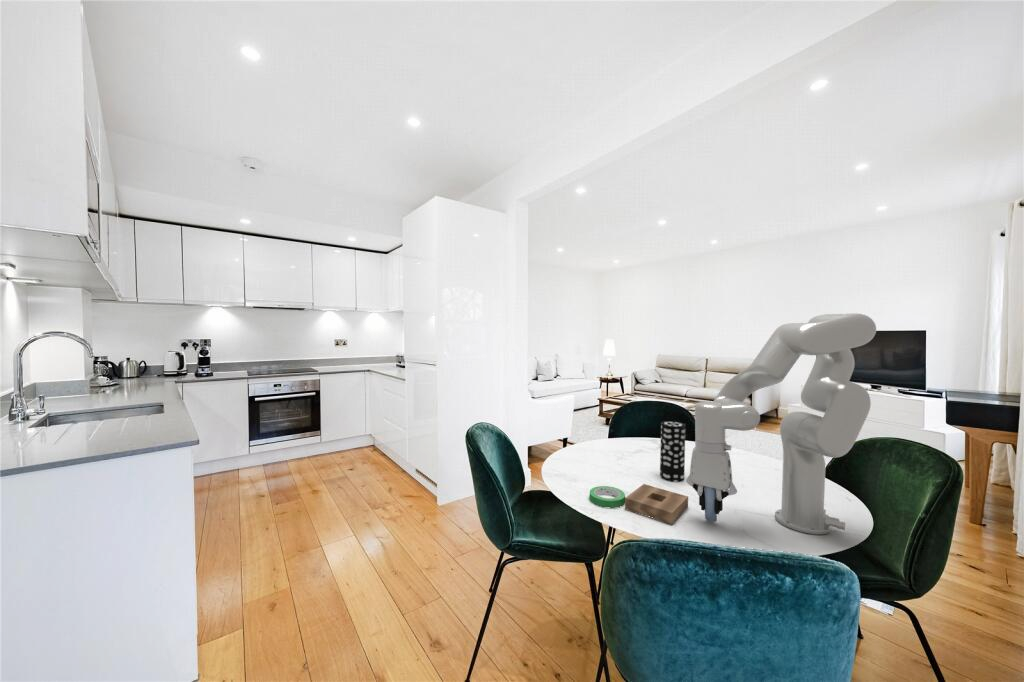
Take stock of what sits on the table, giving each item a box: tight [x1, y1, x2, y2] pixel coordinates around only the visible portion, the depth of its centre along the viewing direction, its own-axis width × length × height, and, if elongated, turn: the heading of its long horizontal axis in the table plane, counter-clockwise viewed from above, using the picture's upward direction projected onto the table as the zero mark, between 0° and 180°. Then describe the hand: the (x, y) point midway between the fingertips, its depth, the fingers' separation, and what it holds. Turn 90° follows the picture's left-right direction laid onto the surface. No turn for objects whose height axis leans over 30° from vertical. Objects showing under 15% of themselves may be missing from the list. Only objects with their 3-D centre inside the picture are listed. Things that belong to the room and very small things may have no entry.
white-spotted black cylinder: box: [659, 420, 686, 483], centre depth 140 cm, size 8×8×20 cm
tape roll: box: [589, 485, 626, 509], centre depth 122 cm, size 11×11×3 cm
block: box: [624, 483, 689, 526], centre depth 116 cm, size 14×14×4 cm
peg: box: [704, 486, 718, 523], centre depth 108 cm, size 3×3×10 cm
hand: (710, 509), depth 108 cm, fingers closed on peg, 3 cm apart
